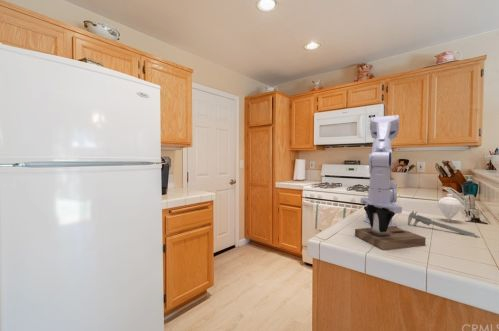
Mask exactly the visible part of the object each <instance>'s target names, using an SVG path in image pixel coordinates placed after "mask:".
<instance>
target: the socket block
mask: <svg viewBox="0 0 499 331" xmlns="http://www.w3.org/2000/svg"><path fill="white" fill-rule="evenodd" d="M354 237H356V238H359V239H360V240H362V241H364V242H366V243H368V244H370V245H372V246H374V247H376V248H378V249H380V250H382V251H388V250H395V249H396V250H397V249H404V248H405V249H407V248H412V247H416V248H417V247H423V246H426V240H427V239H426V238H427V237H425V236H422V235H419V234H417V233H413V232H412V231H408V230H405V229H403V228H400V227H398V226H395V227H394V226H388V228H387V236H386V237H376V236H374V235H372V228H371V227H363V228H354Z"/></svg>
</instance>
